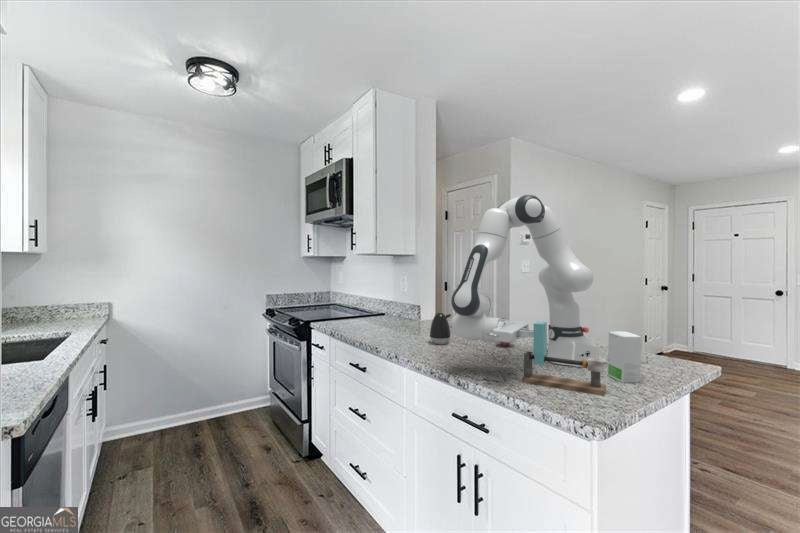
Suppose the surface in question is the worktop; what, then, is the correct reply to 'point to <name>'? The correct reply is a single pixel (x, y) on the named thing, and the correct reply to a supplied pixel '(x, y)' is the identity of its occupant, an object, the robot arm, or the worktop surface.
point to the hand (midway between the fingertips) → (535, 333)
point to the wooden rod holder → (566, 383)
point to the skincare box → (624, 356)
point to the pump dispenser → (440, 329)
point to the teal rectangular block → (540, 342)
